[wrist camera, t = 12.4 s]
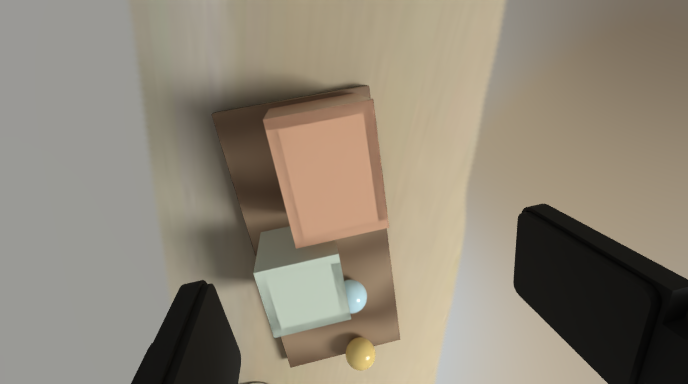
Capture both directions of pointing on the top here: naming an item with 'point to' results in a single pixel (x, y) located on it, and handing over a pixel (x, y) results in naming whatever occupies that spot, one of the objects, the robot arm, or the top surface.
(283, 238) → the sage green box
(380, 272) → the walnut board
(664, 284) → the robot arm
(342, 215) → the terracotta box
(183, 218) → the top surface
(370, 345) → the marble
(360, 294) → the marble
